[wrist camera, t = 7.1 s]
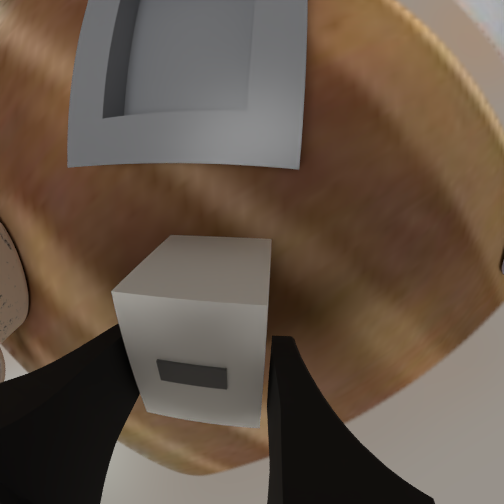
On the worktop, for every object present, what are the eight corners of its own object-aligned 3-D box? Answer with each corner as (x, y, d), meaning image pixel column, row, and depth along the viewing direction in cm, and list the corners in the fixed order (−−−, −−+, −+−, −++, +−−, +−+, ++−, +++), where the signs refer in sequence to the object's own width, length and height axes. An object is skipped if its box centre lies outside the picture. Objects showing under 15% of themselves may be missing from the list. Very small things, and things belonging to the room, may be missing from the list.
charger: (271, 237, 11) (267, 307, 6) (266, 340, 13) (259, 430, 8) (172, 233, 11) (109, 293, 7) (182, 333, 13) (146, 413, 8)
